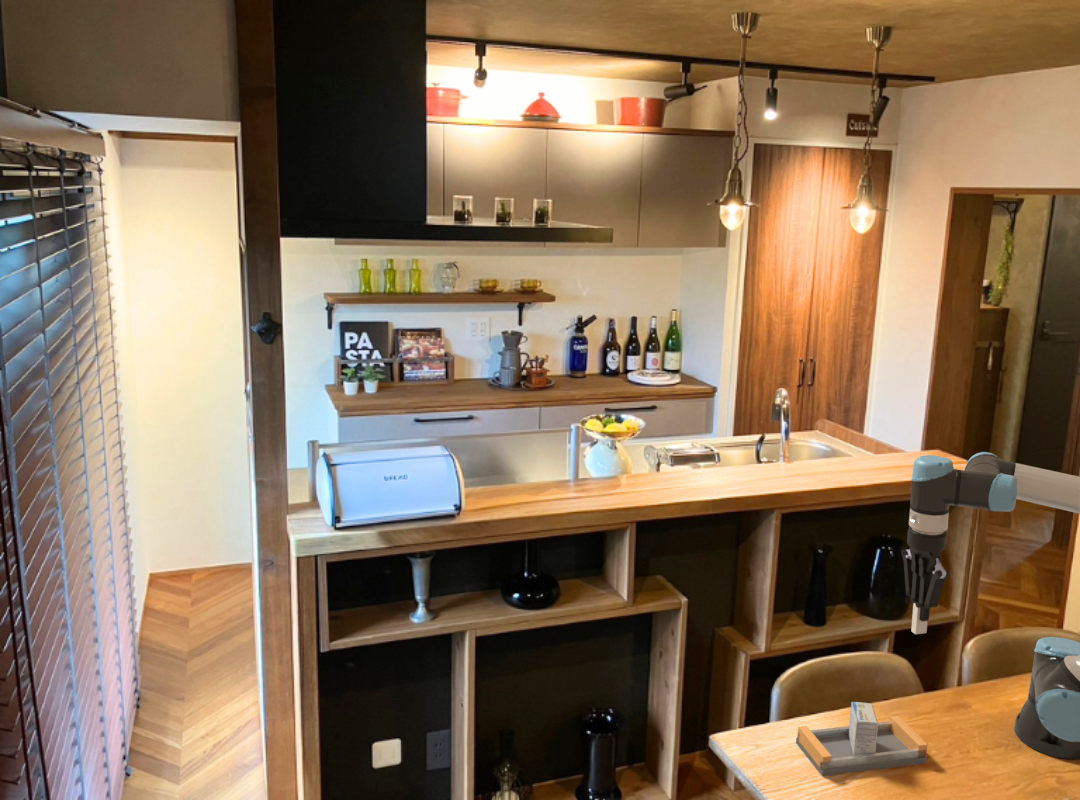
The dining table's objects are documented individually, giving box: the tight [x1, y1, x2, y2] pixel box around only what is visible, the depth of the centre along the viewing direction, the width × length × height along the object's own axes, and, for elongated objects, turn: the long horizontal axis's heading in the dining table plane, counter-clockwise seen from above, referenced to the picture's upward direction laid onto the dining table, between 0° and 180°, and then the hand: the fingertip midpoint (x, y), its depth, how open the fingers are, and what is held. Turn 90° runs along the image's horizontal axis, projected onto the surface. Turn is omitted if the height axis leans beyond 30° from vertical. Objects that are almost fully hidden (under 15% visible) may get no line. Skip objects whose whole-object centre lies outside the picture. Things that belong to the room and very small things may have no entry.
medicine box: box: [848, 701, 879, 756], centre depth 191 cm, size 8×4×9 cm, turn 169°
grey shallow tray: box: [795, 715, 928, 777], centre depth 191 cm, size 24×12×4 cm, turn 101°
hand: (918, 631), depth 192 cm, fingers closed
